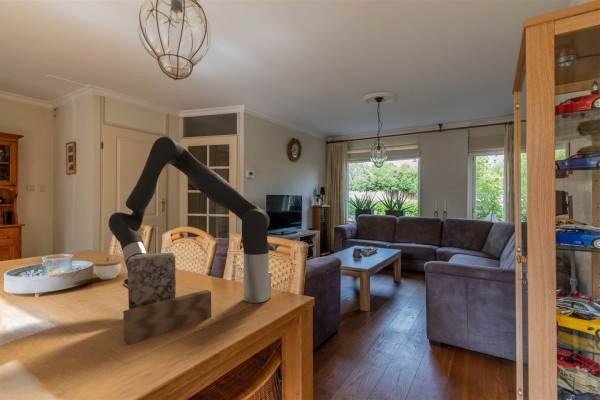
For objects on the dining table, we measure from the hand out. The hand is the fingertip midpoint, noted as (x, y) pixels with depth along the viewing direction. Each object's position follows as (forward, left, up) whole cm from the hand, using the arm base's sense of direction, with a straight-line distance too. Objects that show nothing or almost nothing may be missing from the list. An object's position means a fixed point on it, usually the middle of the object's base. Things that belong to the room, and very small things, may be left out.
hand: (151, 302), depth 95 cm
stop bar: (0, +14, -4) cm, 14 cm away
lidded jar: (-5, -63, -5) cm, 63 cm away
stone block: (+1, +3, -4) cm, 6 cm away
